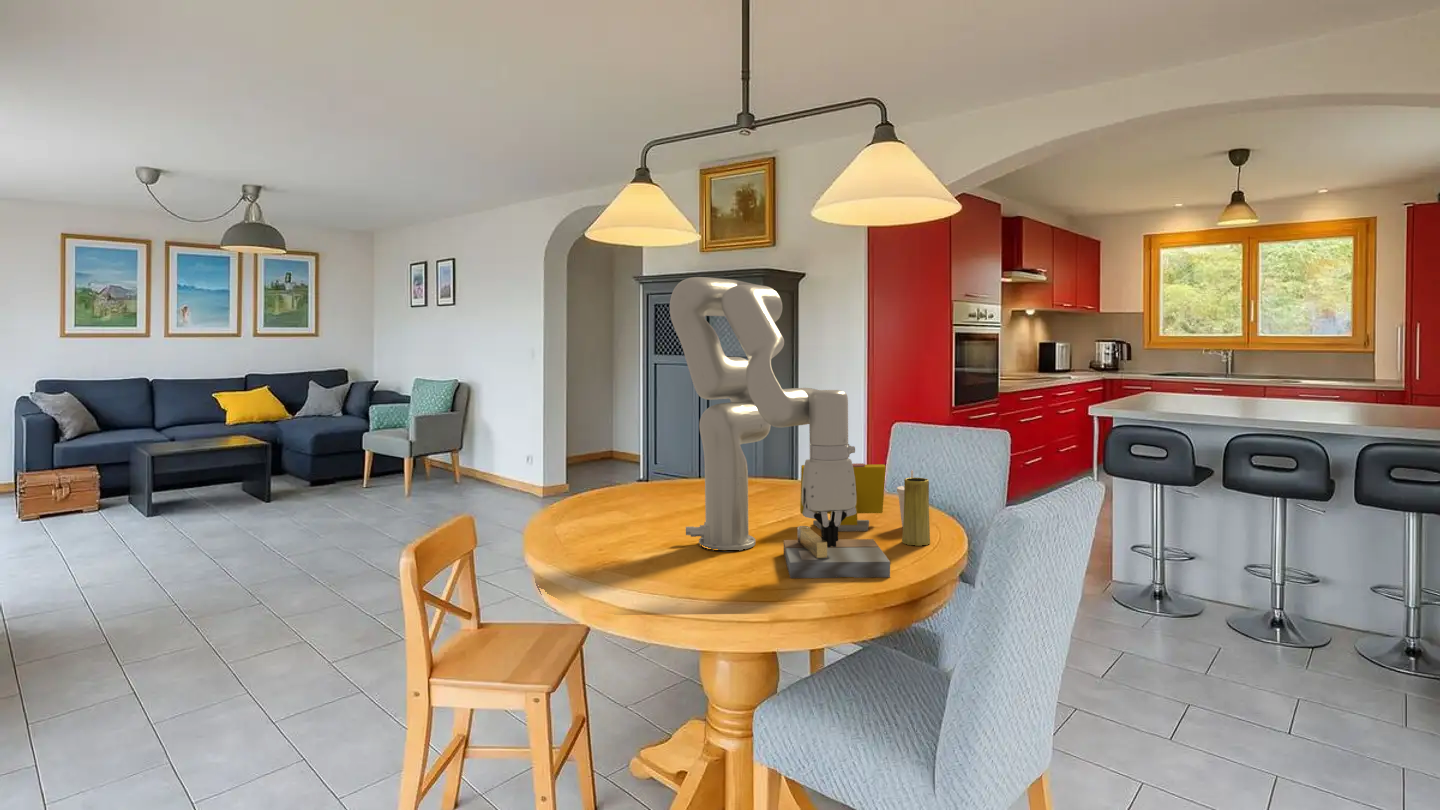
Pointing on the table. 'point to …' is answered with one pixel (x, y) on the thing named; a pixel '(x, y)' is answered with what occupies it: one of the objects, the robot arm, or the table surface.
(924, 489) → the vase
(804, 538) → the latch bar
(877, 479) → the toy computer monitor
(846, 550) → the door mockup
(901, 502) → the smoothie
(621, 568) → the table surface
